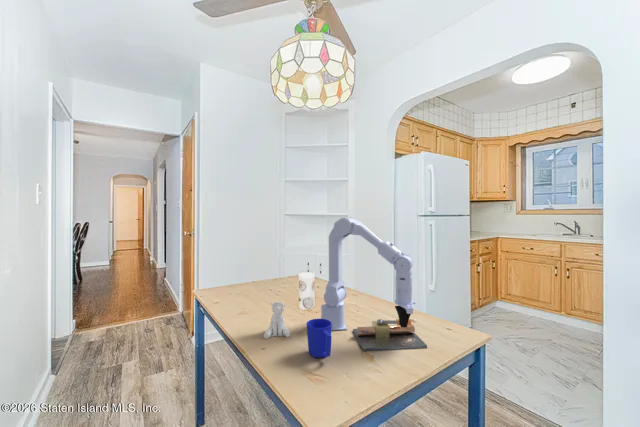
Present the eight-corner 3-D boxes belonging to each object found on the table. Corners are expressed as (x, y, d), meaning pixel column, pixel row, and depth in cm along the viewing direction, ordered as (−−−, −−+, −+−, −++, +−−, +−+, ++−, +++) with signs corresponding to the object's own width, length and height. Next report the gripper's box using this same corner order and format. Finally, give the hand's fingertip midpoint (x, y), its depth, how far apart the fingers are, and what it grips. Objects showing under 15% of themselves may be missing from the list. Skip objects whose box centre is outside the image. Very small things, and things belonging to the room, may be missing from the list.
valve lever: (377, 325, 105) (377, 321, 105) (376, 322, 107) (376, 318, 107) (411, 325, 104) (411, 321, 104) (409, 322, 107) (409, 319, 107)
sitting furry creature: (263, 339, 104) (263, 306, 104) (264, 329, 113) (264, 299, 113) (290, 337, 106) (290, 304, 105) (288, 328, 114) (288, 297, 114)
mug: (317, 369, 85) (317, 335, 84) (302, 350, 96) (302, 320, 96) (341, 363, 88) (341, 330, 88) (325, 345, 99) (325, 316, 99)
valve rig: (363, 351, 95) (363, 336, 95) (352, 331, 111) (352, 318, 111) (427, 347, 97) (427, 333, 97) (407, 328, 113) (407, 316, 113)
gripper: (422, 294, 97) (422, 335, 97) (408, 284, 111) (408, 319, 111) (401, 295, 96) (401, 335, 97) (390, 284, 111) (390, 319, 111)
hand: (403, 326), depth 104 cm, fingers closed
